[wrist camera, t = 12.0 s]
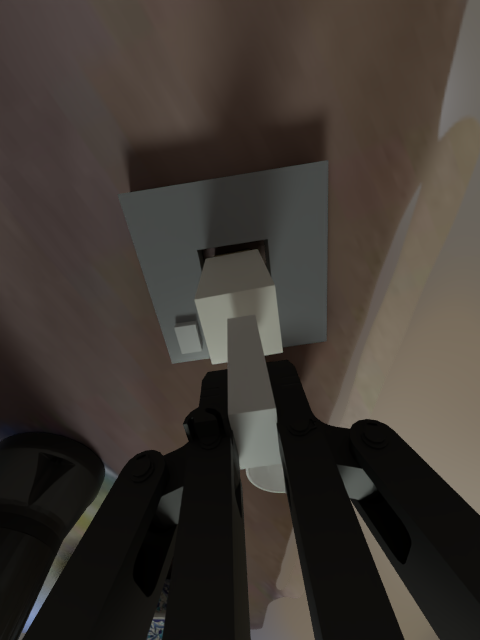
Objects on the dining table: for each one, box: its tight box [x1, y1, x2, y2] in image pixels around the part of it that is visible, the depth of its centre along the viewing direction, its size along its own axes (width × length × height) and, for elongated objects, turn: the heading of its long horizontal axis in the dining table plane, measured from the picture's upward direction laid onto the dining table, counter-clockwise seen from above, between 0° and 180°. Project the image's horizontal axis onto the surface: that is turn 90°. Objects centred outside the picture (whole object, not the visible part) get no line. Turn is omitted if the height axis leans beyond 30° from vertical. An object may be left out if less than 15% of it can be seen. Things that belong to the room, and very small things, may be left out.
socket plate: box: [118, 160, 328, 364], centre depth 25 cm, size 16×16×4 cm
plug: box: [194, 249, 283, 364], centre depth 21 cm, size 4×4×12 cm
